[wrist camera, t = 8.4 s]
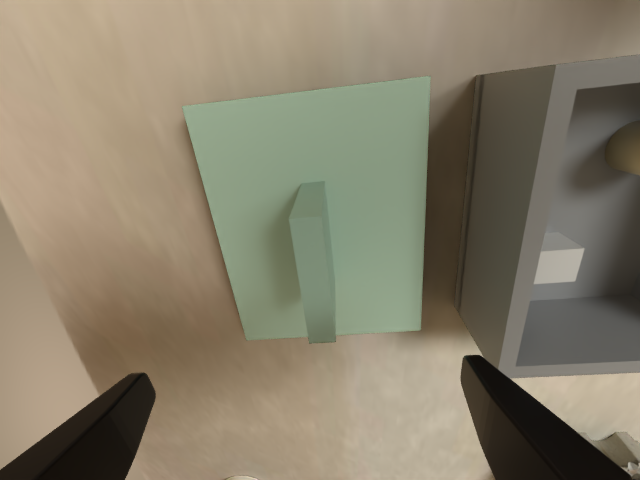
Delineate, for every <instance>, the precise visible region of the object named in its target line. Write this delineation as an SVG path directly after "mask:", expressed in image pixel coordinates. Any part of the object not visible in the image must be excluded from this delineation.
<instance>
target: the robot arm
mask: <svg viewBox="0 0 640 480" xmlns="http://www.w3.org/2000/svg"><path fill="white" fill-rule="evenodd" d="M461 385H462V388H463V391H464V395H465V398H466V401H467V404H468V407H469V410H470V413H471V416H472V420H473V423H474V426H475V429H476V432H477V435H478V438H479V441H480V444H481V447H482V449H483V452H484V454H485V457H486V459H487V461H488V464H489V466H490V468H491V471H492V473H493V475H494V478H495V480H636V479H632V477H631V475H630V474H629V473H628V472H626V471H625V470H624V469H623V468H621V467H620V466H619V465H618V464H616V463H615V462H614V461H613V460H611V459H610V458H609V457H607V456H606V455H605V454H604V453H602V452H601V451H600V450H599V449H597V448H596V447H595V446H594V445H592V444H591V443H590V442H589V441H587V440H586V439H585V438H584V437H582V436H581V435H580V434H579V433H577V432H576V431H575V430H574V429H572V428H571V427H570V426H569V425H567V424H566V423H565V422H564V421H562V420H561V419H560V418H559V417H557V416H556V415H555V414H554V413H552V412H551V411H550V410H549V409H547V408H546V407H545V406H543V405H542V404H541V403H540V402H538V401H537V400H536V399H535V398H533V397H532V396H531V395H530V394H528V393H527V392H526V391H525V390H523V389H522V388H521V387H520V386H518V385H517V384H516V383H515V382H513V381H512V380H511V379H510V378H508V377H507V376H506V375H505V374H503V373H502V372H501V371H500V370H498V369H497V368H496V367H495V366H493V365H492V364H491V363H490V362H488V361H487V360H486V359H485V358H483V357H482V356H480V355H466V356H464V357H463V361H462V369H461ZM155 397H156V393H155V390H154V387H153V385H152V383H151V381H150V379H149V377H148V375H147V374H146V373H131V374H129V375H127V376H126V377H125V378H123V379H122V380H121V381H119V382H118V383H117V384H115V385H114V386H113V387H111V388H110V389H109V390H107V391H106V392H104V393H103V394H102V395H100V396H99V397H98V398H96V399H95V400H94V401H92V402H91V403H90V404H88V405H87V406H86V407H84V408H83V409H82V410H80V411H79V412H78V413H76V414H75V415H74V416H72V417H71V418H69V419H68V420H67V421H66V422H64V423H63V424H61V425H60V426H59V427H57V428H56V429H55V430H53V431H52V432H51V433H49V434H48V435H47V436H45V437H44V438H43V439H41V440H40V441H39V442H37V443H36V444H35V445H33V446H32V447H30V448H29V449H28V450H26V451H25V452H24V453H22V454H21V455H20V456H18V457H17V458H16V459H14V460H13V461H12V462H10V463H9V464H7V465H6V466H5V467H3V468H2V469H1V470H0V480H125V478H126V476H127V474H128V472H129V469H130V467H131V465H132V462H133V460H134V458H135V455H136V453H137V450H138V447H139V444H140V442H141V439H142V436H143V433H144V430H145V427H146V424H147V422H148V419H149V416H150V413H151V410H152V407H153V404H154V402H155Z"/></svg>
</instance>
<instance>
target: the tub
mask: <svg viewBox="0 0 640 480" xmlns="http://www.w3.org/2000/svg"><path fill="white" fill-rule="evenodd" d="M454 306H455V308H456V310H457V311H458V313H459V315H460V317H461V318H462V320H463V322H464V324H465V325H466V327H467V329H468V330H469V332H470V334H471V336H472V337H473V339H474V341H475V343H476V344H477V346H478V348H479V350H480V351H481V353H482V355H483V357H484V358H485V359H486V360H487V361H488V362H490V363H491V364H492V365H493V366H495V367H496V368H497V369H498V370H500V371H501V372H502V373H503V374H505V375H506V376H507V377H508V378H527V377H550V376H573V375H595V374H618V373H640V55H631V56H623V57H615V58H607V59H598V60H590V61H582V62H573V63H565V64H557V65H549V66H542V67H535V68H527V69H520V70H512V71H505V72H498V73H490V74H483V75H476V80H475V91H474V101H473V112H472V122H471V133H470V143H469V154H468V165H467V175H466V186H465V196H464V207H463V217H462V228H461V238H460V249H459V259H458V270H457V281H456V291H455V302H454Z"/></svg>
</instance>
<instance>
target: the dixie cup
mask: <svg viewBox="0 0 640 480" xmlns="http://www.w3.org/2000/svg"><path fill="white" fill-rule="evenodd" d="M226 480H258V479H256V478H253V477H249V476H233V477H230V478H228V479H226Z"/></svg>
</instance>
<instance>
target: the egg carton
mask: <svg viewBox="0 0 640 480" xmlns="http://www.w3.org/2000/svg"><path fill="white" fill-rule="evenodd" d="M579 434H580V435H581V436H582V437H584V438H585V439H586V440H587V441H589V442H590V443H591V444H592V445H594V446H595V447H596V448H597V449H599V450H600V451H601V452H602V453H604V454H605V455H606V456H607V457H609V458H610V459H611V460H613V461H614V462H615V463H616V464H618V465H619V466H620V467H621V468H623V469H624V470H625V471H626V472H628V473H629V474H630V475H631V477H632V479H636V480H640V444H639V443H638V441H635V440H634V439H633V438H632V437H631V436H630V435H629V434H628V433H627V432H616V433H614V434H613V435H612V436H611V437H609V438H607V439H605V440H601V441H592V440H590V438H589V437H588V435H587V434H586V433H583V432H581V433H579Z"/></svg>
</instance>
